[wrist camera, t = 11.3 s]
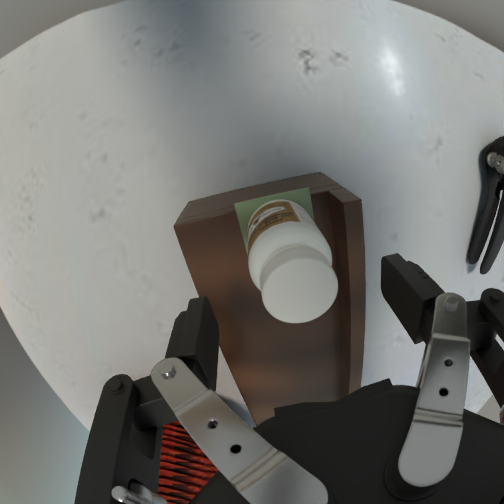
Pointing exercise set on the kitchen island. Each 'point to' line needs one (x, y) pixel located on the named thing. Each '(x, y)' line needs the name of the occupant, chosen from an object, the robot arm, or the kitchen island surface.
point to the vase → (182, 465)
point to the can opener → (491, 208)
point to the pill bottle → (290, 262)
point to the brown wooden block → (251, 304)
